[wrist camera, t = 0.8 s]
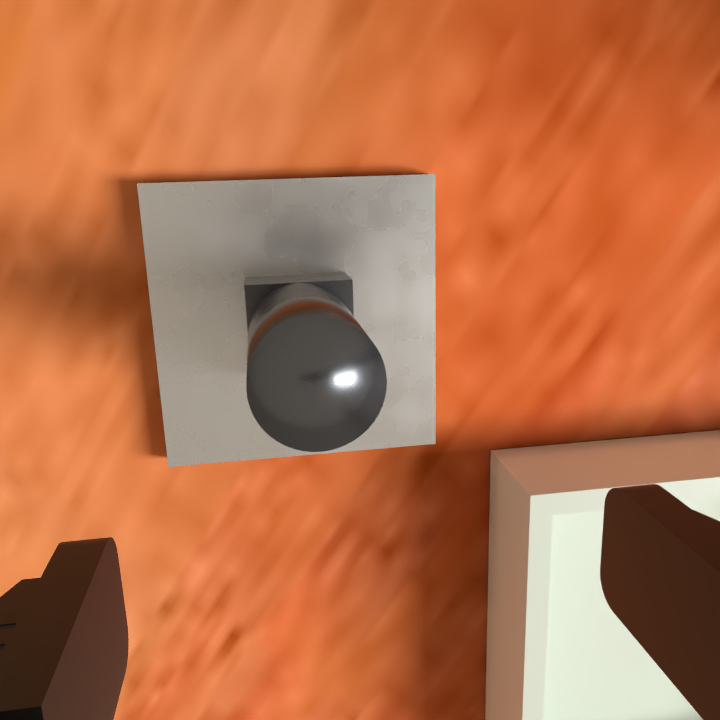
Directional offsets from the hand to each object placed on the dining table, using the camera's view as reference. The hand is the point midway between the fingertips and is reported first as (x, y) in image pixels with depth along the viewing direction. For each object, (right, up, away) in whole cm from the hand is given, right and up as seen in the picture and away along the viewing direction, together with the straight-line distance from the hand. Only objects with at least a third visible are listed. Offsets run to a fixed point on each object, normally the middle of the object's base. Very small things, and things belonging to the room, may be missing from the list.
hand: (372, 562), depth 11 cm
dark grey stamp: (-3, +5, +18) cm, 19 cm away
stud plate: (-3, +5, +19) cm, 20 cm away
